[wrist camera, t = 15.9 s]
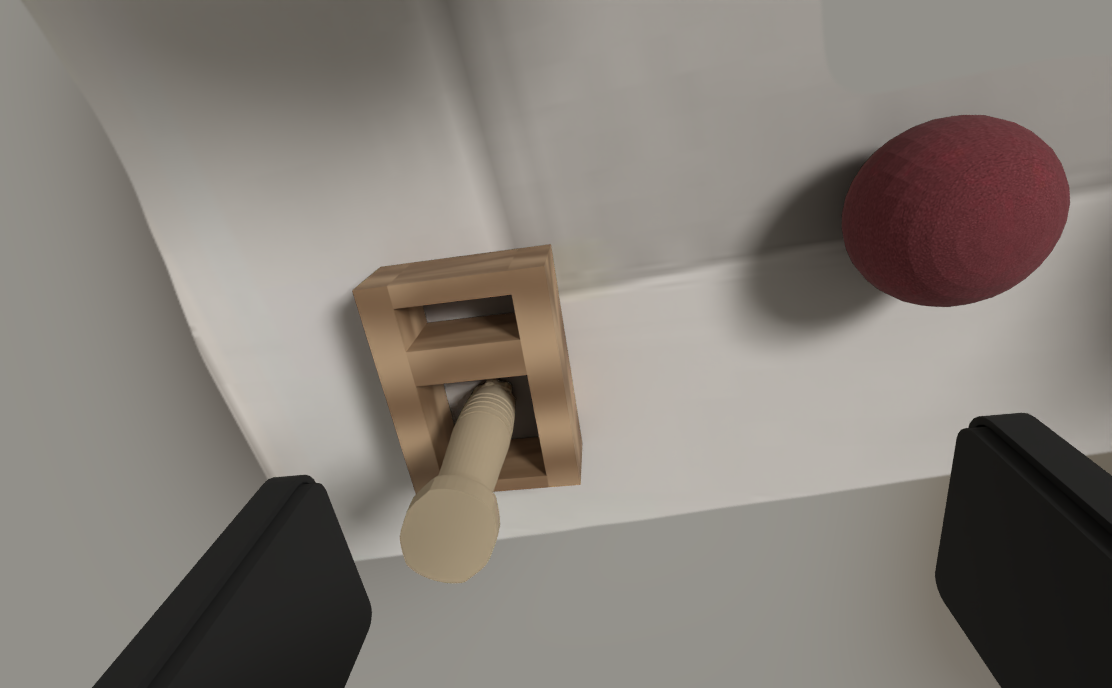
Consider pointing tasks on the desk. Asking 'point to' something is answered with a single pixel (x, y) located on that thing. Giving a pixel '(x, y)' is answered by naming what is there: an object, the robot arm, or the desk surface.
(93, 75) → the desk surface
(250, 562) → the robot arm
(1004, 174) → the decorative ball
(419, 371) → the wooden shelf
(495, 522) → the handle
